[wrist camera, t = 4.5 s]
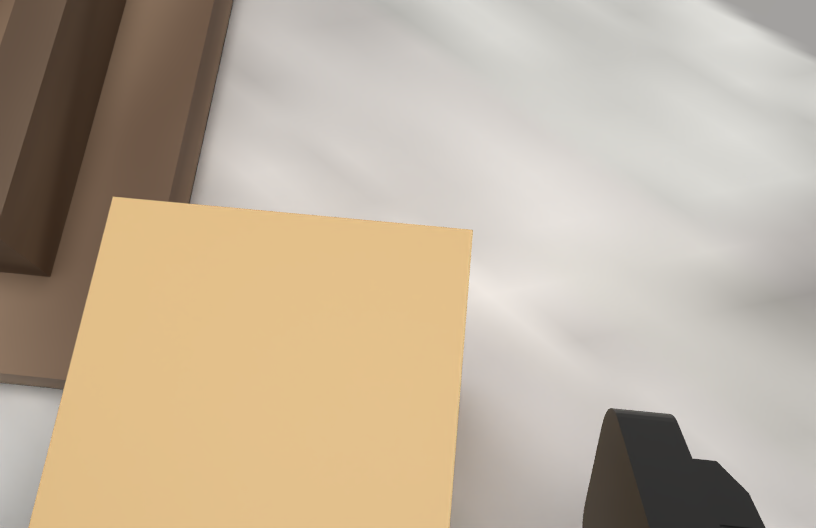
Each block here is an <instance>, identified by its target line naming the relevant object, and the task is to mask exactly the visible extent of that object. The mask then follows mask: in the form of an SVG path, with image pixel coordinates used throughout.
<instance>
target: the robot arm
mask: <svg viewBox="0 0 816 528" xmlns="http://www.w3.org/2000/svg"><path fill="white" fill-rule="evenodd" d="M582 528H765V526H764V524H763V522H762V520H761V518H760V516H759V513H758V511H757V509H756V507H755V505H754V503H753V501H752V499H751V497H750V495H749V493H748V492H747V491H746V490H745V489H744V488H743V487H742V486H741V485H740V484H739V483H738V482H737V481H736V480H735V479H734V478H733V477H732V476H731V475H730V474H729V473H728V472H727V471H726V470H725V469H724V468H723V467H722V466H721V465H720V464H719V463H718V462H717V461H710V460H700V459H692V457H691V454H690V452H689V449H688V447H687V445H686V442H685V440H684V437H683V435H682V432H681V430H680V427H679V425H678V423H677V421H676V419H675V417H674V416H673V415H671V414H663V413H653V412H643V411H633V410H623V409H613V408H610V409H608V411H607V412H606V414H605V417H604V420H603V424H602V428H601V432H600V437H599V442H598V446H597V451H596V456H595V460H594V465H593V469H592V474H591V479H590V483H589V488H588V492H587V497H586V502H585V507H584V514H583V527H582Z"/></svg>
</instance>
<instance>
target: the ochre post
mask: <svg viewBox="0 0 816 528" xmlns="http://www.w3.org/2000/svg"><path fill="white" fill-rule="evenodd" d="M472 235H473V230H468V229H457V228H447V227H436V226H425V225H414V224H403V223H392V222H382V221H371V220H360V219H349V218H338V217H327V216H317V215H306V214H295V213H284V212H273V211H262V210H252V209H241V208H230V207H219V206H208V205H197V204H187V203H176V202H165V201H154V200H143V199H132V198H122V197H113V198H112V202H111V206H110V210H109V214H108V218H107V222H106V226H105V230H104V233H103V237H102V241H101V245H100V249H99V253H98V257H97V261H96V265H95V269H94V273H93V277H92V281H91V284H90V288H89V292H88V296H87V300H86V304H85V308H84V312H83V316H82V320H81V324H80V328H79V331H78V335H77V339H76V343H75V347H74V351H73V355H72V359H71V363H70V367H69V371H68V375H67V378H66V382H65V386H64V390H63V394H62V398H61V402H60V406H59V410H58V414H57V418H56V422H55V425H54V429H53V433H52V437H51V441H50V445H49V449H48V453H47V457H46V461H45V465H44V469H43V473H42V476H41V480H40V484H39V488H38V492H37V496H36V500H35V504H34V508H33V512H32V516H31V520H30V523H29V527H28V528H449V527H450V514H451V501H452V489H453V476H454V463H455V450H456V438H457V425H458V412H459V400H460V387H461V374H462V362H463V349H464V336H465V324H466V311H467V298H468V286H469V273H470V260H471V247H472Z"/></svg>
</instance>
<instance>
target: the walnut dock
mask: <svg viewBox="0 0 816 528" xmlns="http://www.w3.org/2000/svg"><path fill="white" fill-rule="evenodd" d="M232 3H233V0H0V383H9V384H19V385H29V386H39V387H48V388H58V389H64V386H65V382H66V378H67V375H68V371H69V367H70V363H71V359H72V355H73V351H74V347H75V343H76V339H77V335H78V331H79V328H80V324H81V320H82V316H83V312H84V308H85V304H86V300H87V296H88V292H89V288H90V284H91V281H92V277H93V273H94V269H95V265H96V261H97V257H98V253H99V249H100V245H101V241H102V237H103V233H104V230H105V226H106V222H107V218H108V214H109V210H110V206H111V202H112V198H113V197H122V198H132V199H143V200H154V201H165V202H176V203H187V204H189V201H190V196H191V191H192V187H193V182H194V178H195V173H196V168H197V164H198V159H199V155H200V150H201V145H202V141H203V136H204V132H205V127H206V122H207V118H208V113H209V109H210V104H211V99H212V95H213V90H214V86H215V81H216V76H217V72H218V67H219V63H220V58H221V53H222V49H223V44H224V40H225V35H226V30H227V26H228V21H229V17H230V12H231V7H232Z"/></svg>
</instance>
